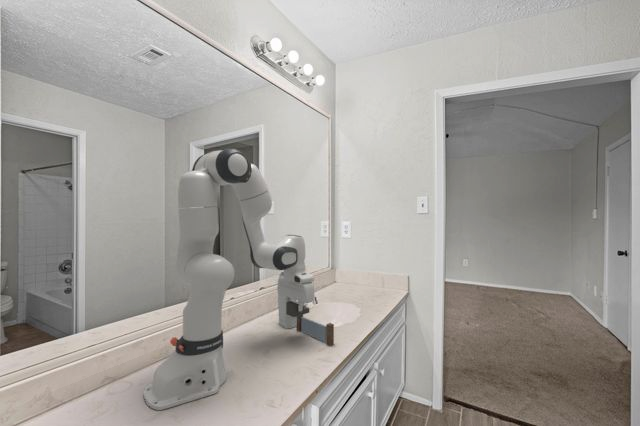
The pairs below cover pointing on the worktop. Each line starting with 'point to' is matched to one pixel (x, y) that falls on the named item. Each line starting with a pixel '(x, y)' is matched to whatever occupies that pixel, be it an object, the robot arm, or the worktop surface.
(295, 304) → the doorstop wedge
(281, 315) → the skincare box
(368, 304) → the worktop surface
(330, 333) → the door frame
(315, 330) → the door
